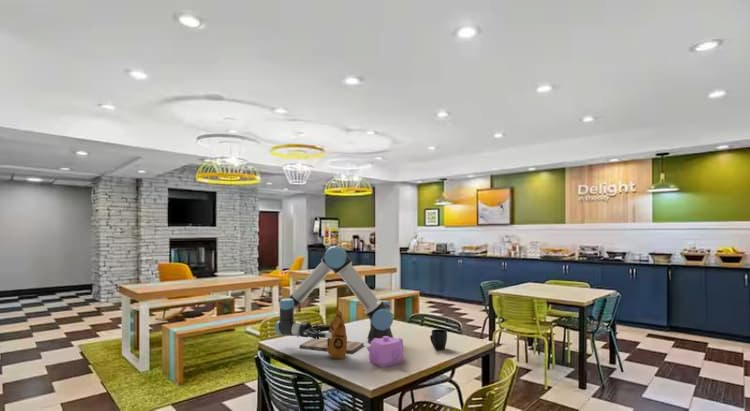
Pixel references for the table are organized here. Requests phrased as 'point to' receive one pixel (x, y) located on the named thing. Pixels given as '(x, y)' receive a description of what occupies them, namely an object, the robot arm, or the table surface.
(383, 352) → the teakettle
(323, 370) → the table surface
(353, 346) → the walnut board
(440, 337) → the mug
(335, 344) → the coffee package
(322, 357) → the table surface
